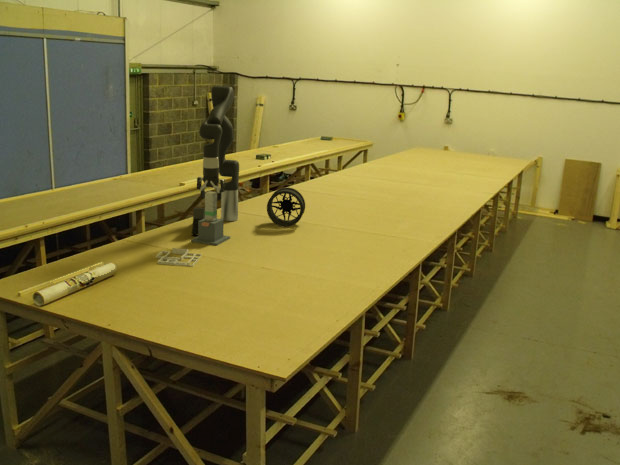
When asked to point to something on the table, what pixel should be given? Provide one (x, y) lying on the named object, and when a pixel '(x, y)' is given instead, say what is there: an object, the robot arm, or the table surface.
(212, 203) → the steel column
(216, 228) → the gray sleeve
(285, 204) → the wheel rim
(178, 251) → the floor plan model
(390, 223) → the table surface
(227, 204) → the robot arm
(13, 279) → the table surface
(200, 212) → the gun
